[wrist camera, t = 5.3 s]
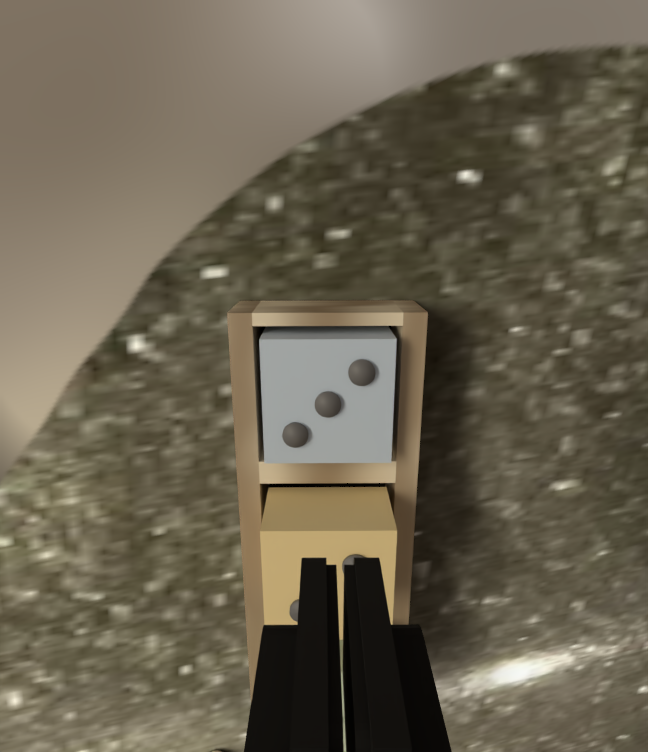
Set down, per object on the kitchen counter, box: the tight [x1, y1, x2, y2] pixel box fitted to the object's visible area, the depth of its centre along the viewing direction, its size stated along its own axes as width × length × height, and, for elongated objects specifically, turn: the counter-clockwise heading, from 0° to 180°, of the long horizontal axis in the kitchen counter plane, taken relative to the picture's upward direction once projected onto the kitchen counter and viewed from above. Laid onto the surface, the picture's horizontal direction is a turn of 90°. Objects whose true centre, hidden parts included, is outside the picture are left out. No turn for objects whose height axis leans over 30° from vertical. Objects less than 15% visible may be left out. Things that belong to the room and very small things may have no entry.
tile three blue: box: [259, 326, 397, 463], centre depth 24 cm, size 6×6×4 cm
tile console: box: [227, 300, 428, 702], centre depth 27 cm, size 9×24×4 cm, turn 0°
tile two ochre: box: [260, 487, 397, 640], centre depth 24 cm, size 6×6×4 cm
